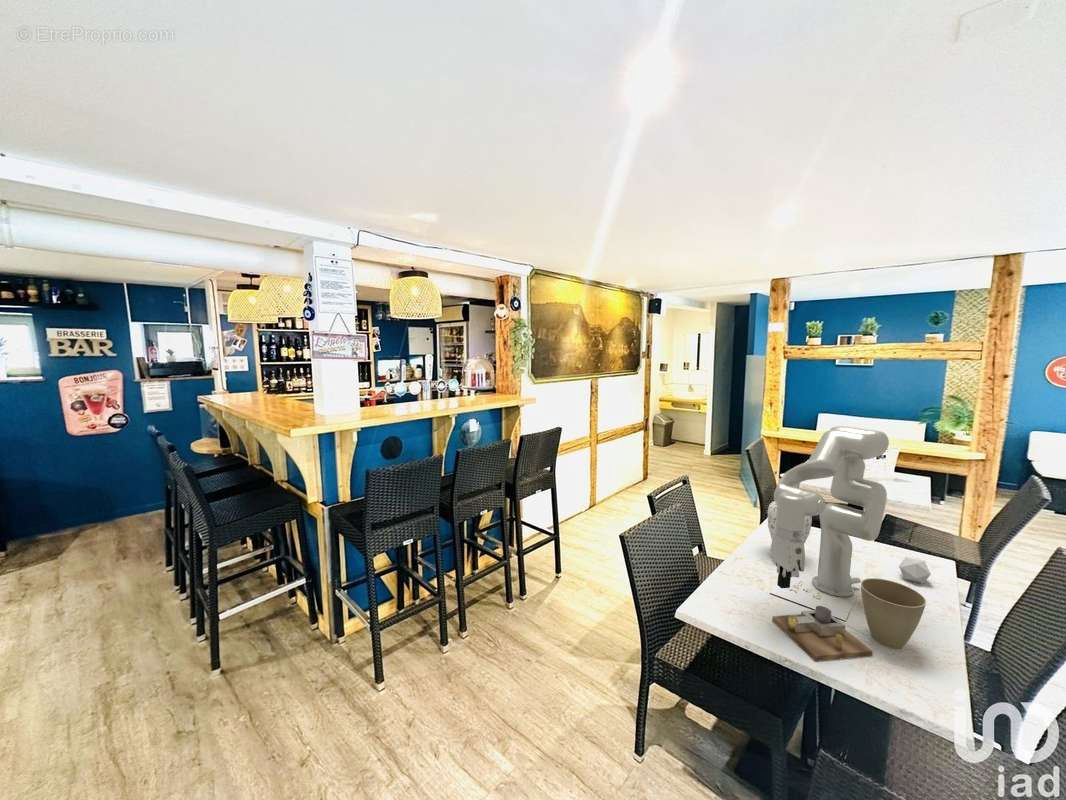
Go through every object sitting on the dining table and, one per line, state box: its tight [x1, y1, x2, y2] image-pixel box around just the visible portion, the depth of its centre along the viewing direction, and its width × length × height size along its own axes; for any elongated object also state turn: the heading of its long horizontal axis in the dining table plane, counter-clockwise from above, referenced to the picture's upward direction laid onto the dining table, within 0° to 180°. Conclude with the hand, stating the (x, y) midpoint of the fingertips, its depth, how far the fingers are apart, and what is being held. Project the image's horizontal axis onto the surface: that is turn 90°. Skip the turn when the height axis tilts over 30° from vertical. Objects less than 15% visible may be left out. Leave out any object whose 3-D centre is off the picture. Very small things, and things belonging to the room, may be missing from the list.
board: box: [771, 605, 874, 662], centre depth 129 cm, size 18×18×8 cm
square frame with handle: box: [788, 609, 846, 637], centre depth 131 cm, size 15×8×4 cm, turn 97°
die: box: [898, 556, 931, 584], centre depth 161 cm, size 8×9×10 cm
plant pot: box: [860, 577, 927, 650], centre depth 127 cm, size 15×15×16 cm
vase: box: [767, 472, 813, 545], centre depth 178 cm, size 16×16×35 cm
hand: (783, 586), depth 136 cm, fingers closed
